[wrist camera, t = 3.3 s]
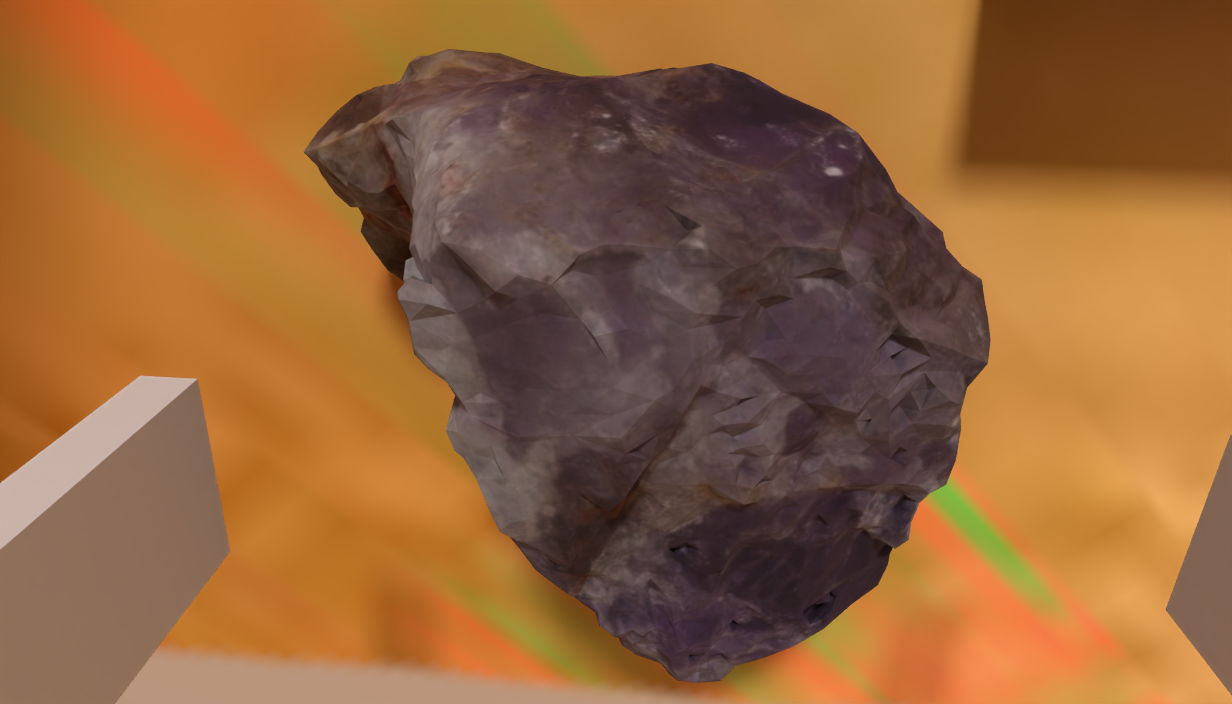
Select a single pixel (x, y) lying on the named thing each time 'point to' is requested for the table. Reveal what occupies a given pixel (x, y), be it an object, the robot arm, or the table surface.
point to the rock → (669, 335)
